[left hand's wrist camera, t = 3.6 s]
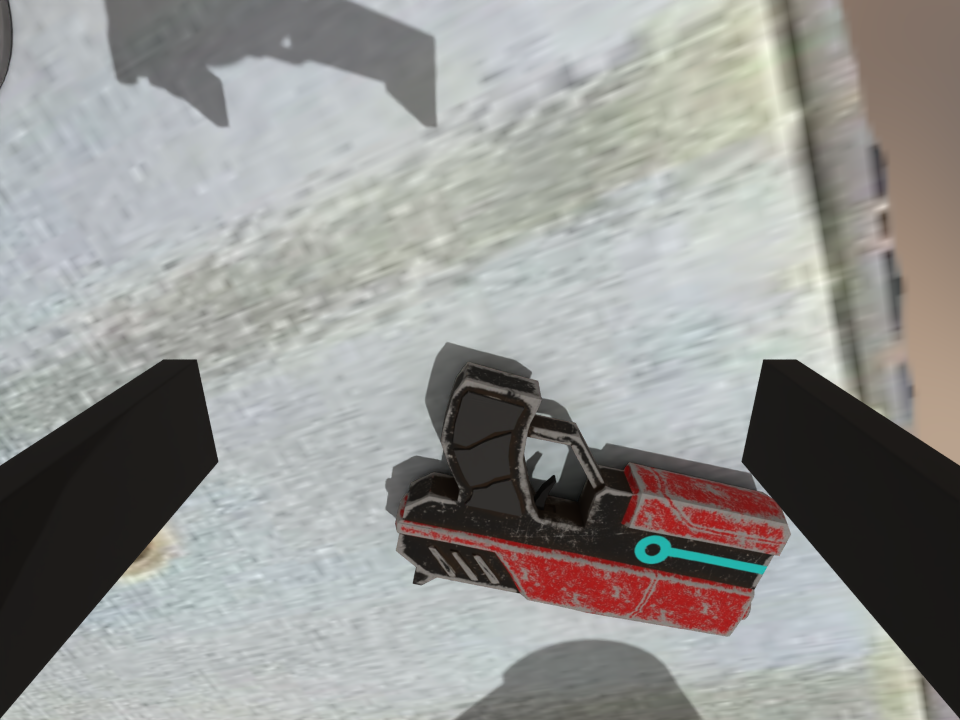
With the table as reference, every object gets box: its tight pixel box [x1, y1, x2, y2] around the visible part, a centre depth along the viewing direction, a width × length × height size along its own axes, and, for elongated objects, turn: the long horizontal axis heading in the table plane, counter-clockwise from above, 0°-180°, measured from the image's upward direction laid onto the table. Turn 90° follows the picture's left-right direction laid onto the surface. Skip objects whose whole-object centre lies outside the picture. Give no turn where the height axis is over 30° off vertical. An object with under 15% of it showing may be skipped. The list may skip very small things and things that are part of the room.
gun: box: [395, 362, 791, 636], centre depth 42 cm, size 4×31×19 cm
